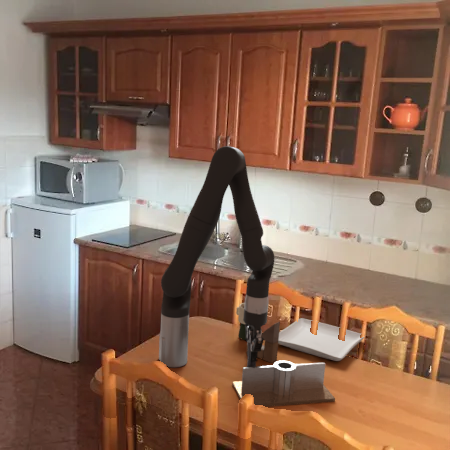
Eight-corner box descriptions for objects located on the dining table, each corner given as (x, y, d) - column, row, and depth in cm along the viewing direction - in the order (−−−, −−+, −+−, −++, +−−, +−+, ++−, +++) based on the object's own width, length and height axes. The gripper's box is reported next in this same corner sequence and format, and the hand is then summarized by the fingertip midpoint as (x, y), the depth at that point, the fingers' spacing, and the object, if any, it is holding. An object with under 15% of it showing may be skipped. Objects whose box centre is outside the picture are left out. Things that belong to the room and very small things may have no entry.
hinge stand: (244, 408, 152) (246, 379, 150) (232, 384, 165) (234, 357, 163) (334, 401, 159) (337, 373, 157) (316, 378, 172) (318, 353, 170)
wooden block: (271, 363, 181) (275, 313, 178) (245, 353, 188) (249, 305, 184) (277, 359, 184) (281, 310, 181) (251, 350, 191) (255, 302, 187)
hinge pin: (248, 371, 171) (250, 342, 169) (245, 367, 173) (248, 338, 171) (256, 370, 171) (258, 341, 169) (254, 366, 174) (256, 338, 172)
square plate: (341, 368, 181) (342, 357, 180) (269, 347, 195) (270, 337, 194) (365, 342, 204) (366, 333, 203) (300, 325, 218) (300, 316, 217)
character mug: (263, 340, 200) (266, 307, 198) (252, 345, 195) (254, 311, 192) (241, 331, 207) (242, 299, 204) (229, 336, 202) (231, 304, 199)
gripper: (239, 300, 174) (235, 350, 177) (250, 316, 161) (246, 369, 164) (261, 300, 176) (257, 349, 179) (274, 316, 162) (269, 368, 166)
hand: (251, 358), depth 172 cm, fingers closed on hinge pin, 2 cm apart
